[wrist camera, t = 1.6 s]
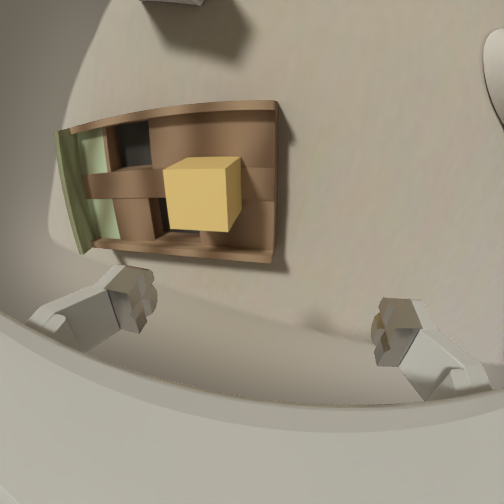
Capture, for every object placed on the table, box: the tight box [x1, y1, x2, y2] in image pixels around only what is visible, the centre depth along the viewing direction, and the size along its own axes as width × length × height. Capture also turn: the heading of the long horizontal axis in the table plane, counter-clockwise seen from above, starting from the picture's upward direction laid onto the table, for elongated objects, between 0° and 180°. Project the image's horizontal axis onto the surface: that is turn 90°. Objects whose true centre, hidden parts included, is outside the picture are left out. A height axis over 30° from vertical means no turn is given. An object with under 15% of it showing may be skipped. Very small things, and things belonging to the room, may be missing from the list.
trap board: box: [54, 100, 278, 264], centre depth 26 cm, size 23×15×5 cm, turn 91°
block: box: [163, 157, 242, 232], centre depth 23 cm, size 5×5×5 cm
